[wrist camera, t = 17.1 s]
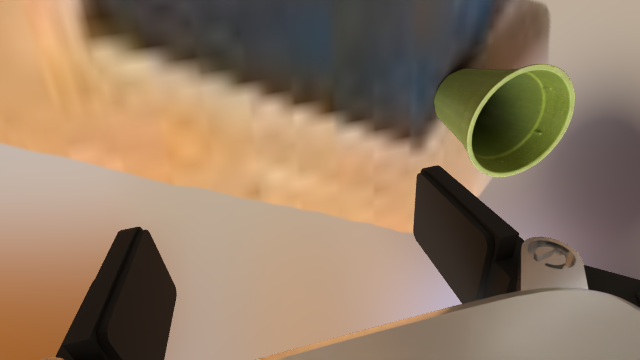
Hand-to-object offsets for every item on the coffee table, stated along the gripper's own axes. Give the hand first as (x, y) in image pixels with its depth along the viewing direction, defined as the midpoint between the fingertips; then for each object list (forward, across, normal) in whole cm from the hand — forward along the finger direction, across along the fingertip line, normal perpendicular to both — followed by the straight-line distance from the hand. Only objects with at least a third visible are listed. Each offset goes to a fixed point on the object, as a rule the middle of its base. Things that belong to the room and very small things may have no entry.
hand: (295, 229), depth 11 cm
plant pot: (+28, -25, +7) cm, 39 cm away
